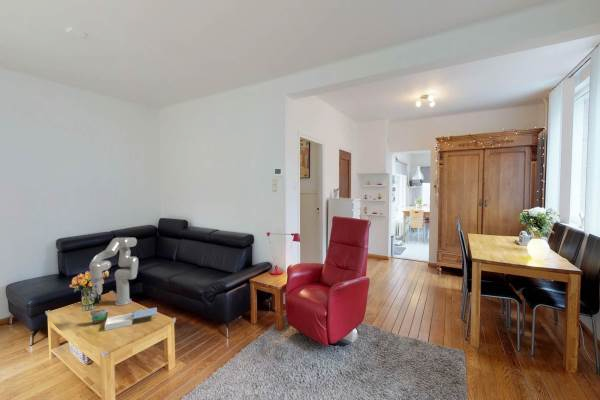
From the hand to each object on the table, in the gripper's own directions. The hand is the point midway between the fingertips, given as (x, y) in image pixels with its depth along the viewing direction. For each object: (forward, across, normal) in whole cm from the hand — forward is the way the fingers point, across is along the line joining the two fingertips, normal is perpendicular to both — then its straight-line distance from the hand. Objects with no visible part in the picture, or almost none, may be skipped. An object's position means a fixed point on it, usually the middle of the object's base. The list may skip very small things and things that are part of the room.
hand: (97, 301), depth 213 cm
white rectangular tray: (+17, -9, -15) cm, 25 cm away
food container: (+18, 0, 0) cm, 18 cm away
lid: (+13, -9, -32) cm, 36 cm away
